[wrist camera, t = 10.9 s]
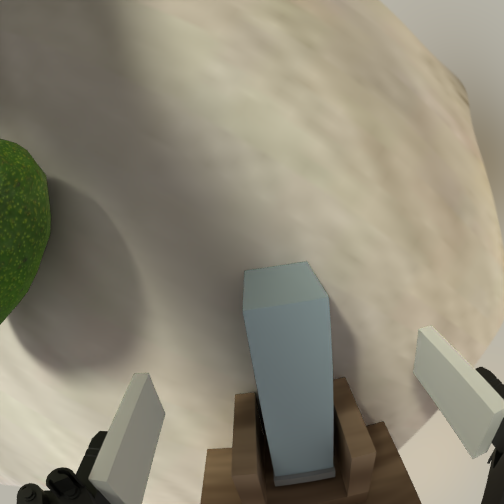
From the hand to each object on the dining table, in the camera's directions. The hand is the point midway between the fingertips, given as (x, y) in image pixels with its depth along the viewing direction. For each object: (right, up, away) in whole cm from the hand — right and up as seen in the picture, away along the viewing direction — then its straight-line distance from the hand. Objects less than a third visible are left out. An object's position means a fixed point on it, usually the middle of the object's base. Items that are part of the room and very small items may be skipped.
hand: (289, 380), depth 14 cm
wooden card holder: (+2, -8, +10) cm, 13 cm away
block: (+1, -2, +8) cm, 8 cm away
